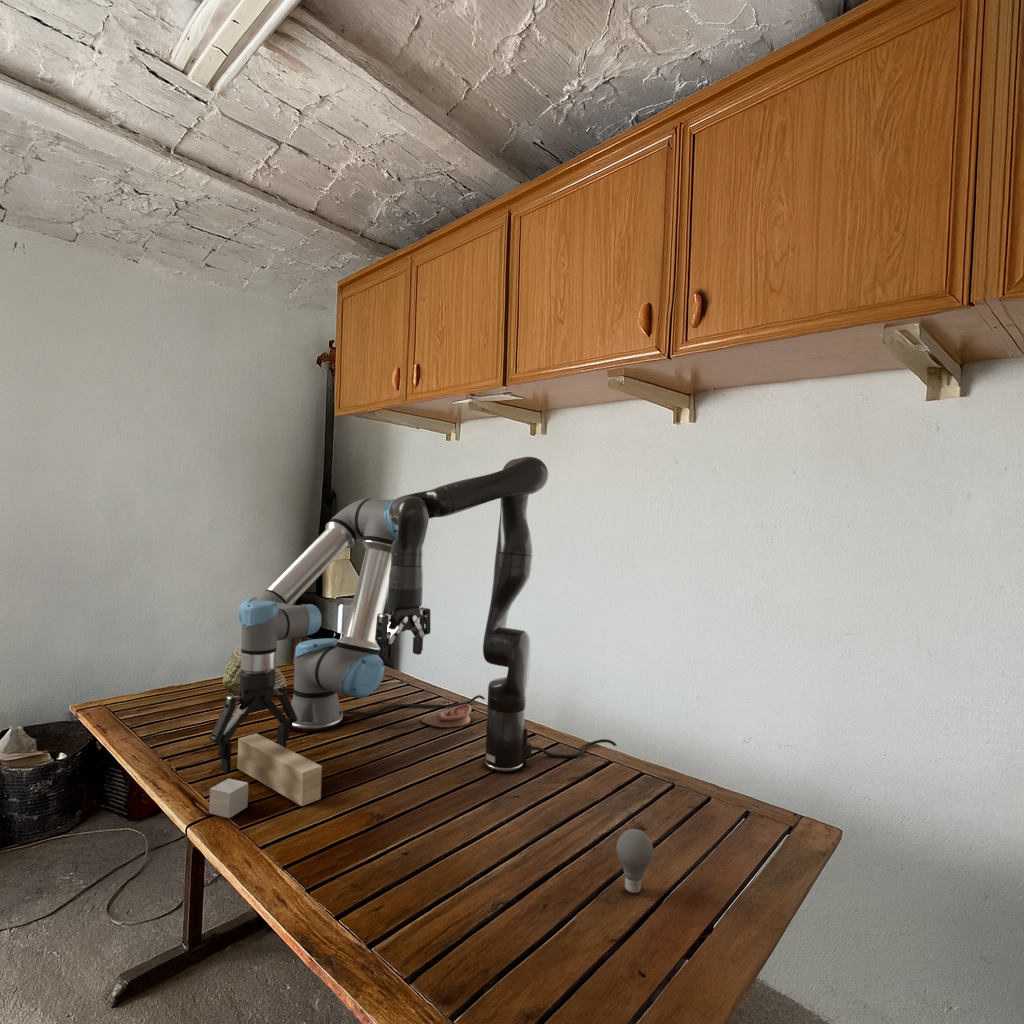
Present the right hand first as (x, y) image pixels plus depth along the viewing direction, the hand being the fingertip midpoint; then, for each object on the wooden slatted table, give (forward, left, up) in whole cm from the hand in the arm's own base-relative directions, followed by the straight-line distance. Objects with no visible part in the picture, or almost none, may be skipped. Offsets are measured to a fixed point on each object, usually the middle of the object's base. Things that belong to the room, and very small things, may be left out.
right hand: (402, 657), depth 142 cm
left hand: (+29, -17, -26) cm, 43 cm away
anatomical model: (-24, -32, -28) cm, 49 cm away
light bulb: (-24, +54, -28) cm, 65 cm away
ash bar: (+25, -9, -28) cm, 38 cm away
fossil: (+23, -74, -28) cm, 83 cm away
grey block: (+35, 0, -28) cm, 45 cm away
